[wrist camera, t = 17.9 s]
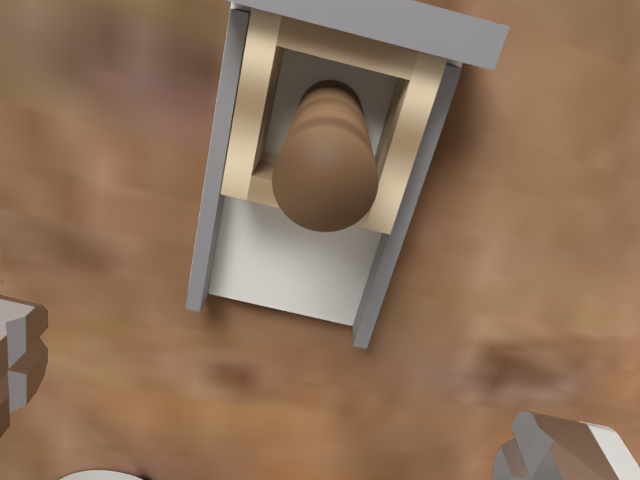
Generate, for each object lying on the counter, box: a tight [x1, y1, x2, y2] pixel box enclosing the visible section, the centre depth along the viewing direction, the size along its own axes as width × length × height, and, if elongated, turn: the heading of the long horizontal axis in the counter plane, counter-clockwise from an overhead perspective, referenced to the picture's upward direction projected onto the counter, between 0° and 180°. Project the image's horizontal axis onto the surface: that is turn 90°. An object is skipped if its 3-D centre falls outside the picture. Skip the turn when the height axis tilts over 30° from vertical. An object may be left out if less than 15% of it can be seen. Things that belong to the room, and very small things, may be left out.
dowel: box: [272, 80, 379, 232], centre depth 26 cm, size 4×4×14 cm
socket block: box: [221, 7, 448, 234], centre depth 30 cm, size 10×10×5 cm
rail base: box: [186, 0, 510, 349], centre depth 31 cm, size 22×14×8 cm, turn 167°
